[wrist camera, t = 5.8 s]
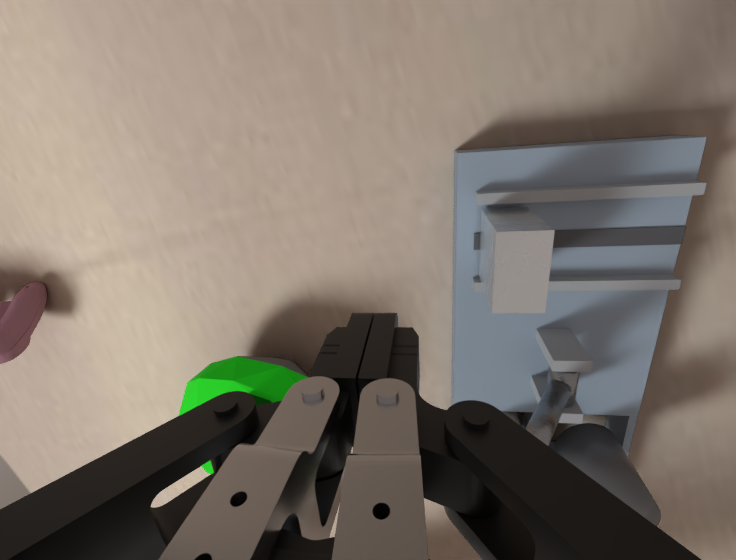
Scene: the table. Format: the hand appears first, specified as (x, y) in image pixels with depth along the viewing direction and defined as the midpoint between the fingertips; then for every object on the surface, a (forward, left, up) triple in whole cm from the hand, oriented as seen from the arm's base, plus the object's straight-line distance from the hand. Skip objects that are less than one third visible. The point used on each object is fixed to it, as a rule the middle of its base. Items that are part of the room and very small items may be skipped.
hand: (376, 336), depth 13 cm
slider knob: (+6, 0, -11) cm, 12 cm away
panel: (+9, -8, -14) cm, 18 cm away
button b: (+12, -15, -11) cm, 22 cm away
